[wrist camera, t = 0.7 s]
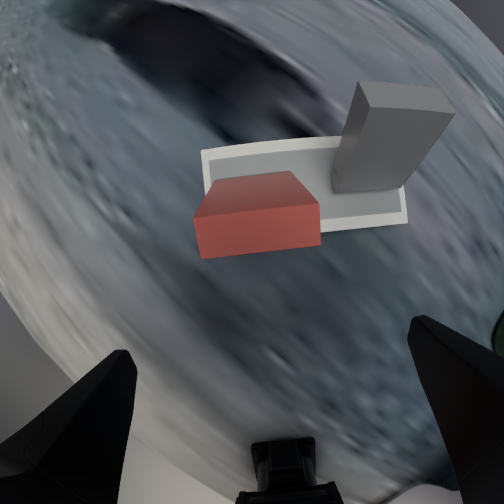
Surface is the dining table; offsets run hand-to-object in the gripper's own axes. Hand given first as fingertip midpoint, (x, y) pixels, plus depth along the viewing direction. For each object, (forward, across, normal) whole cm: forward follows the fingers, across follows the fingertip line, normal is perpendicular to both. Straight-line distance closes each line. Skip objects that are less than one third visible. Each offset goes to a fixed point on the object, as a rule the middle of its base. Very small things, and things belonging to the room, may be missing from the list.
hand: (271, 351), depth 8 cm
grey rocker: (+13, -8, -2) cm, 15 cm away
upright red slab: (+13, 0, -2) cm, 13 cm away
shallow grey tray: (+17, -4, 0) cm, 17 cm away
